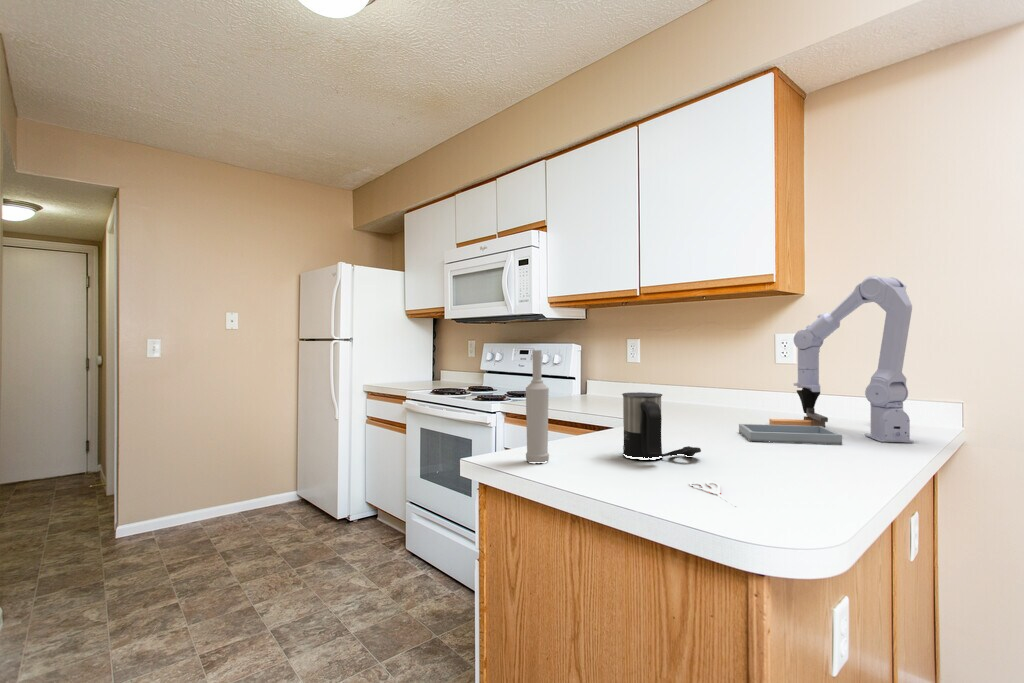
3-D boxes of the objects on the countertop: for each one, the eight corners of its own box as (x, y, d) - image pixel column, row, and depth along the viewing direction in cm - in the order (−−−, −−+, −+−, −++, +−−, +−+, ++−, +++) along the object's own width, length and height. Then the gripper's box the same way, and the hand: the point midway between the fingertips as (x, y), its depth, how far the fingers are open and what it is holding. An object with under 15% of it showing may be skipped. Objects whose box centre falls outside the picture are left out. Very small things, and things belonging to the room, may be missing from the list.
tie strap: (827, 421, 149) (827, 413, 149) (820, 421, 149) (820, 413, 149) (812, 415, 161) (812, 407, 161) (806, 415, 161) (806, 407, 161)
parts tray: (842, 444, 135) (842, 435, 135) (750, 441, 139) (750, 432, 139) (821, 435, 148) (821, 426, 148) (738, 432, 153) (738, 423, 153)
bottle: (541, 465, 114) (541, 350, 114) (521, 462, 117) (521, 350, 117) (552, 460, 118) (552, 350, 118) (533, 458, 121) (532, 350, 121)
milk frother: (614, 454, 125) (614, 392, 125) (668, 449, 130) (668, 389, 130) (651, 468, 111) (650, 398, 111) (709, 461, 117) (709, 395, 117)
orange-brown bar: (823, 432, 155) (823, 422, 155) (772, 430, 158) (772, 420, 158) (819, 430, 159) (819, 420, 158) (769, 428, 161) (769, 418, 161)
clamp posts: (825, 432, 152) (825, 421, 152) (814, 432, 153) (814, 420, 153) (814, 427, 161) (814, 416, 161) (803, 427, 162) (803, 416, 162)
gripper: (786, 367, 170) (787, 409, 170) (801, 370, 156) (801, 416, 156) (810, 368, 169) (810, 410, 169) (828, 370, 154) (828, 416, 154)
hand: (808, 413), depth 162 cm, fingers closed
